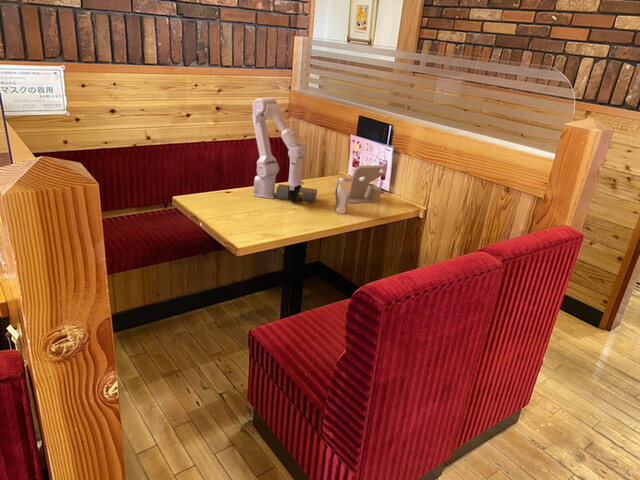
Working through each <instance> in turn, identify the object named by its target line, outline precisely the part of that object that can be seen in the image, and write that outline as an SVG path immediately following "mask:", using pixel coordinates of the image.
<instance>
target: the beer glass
mask: <svg viewBox="0 0 640 480" xmlns="http://www.w3.org/2000/svg"><path fill="white" fill-rule="evenodd" d="M351 179H352V178H349V177H346V176H345V177H342V176H340V177H337V179H336V183H335V190H334V192H335V193H334V196H335V206H334V208H333V212H334V213H335V214H339V215H346V214H348V212H349V211H348V204H349V202H348V201H349V198H350V194H351V188H352V180H351Z"/></svg>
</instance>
